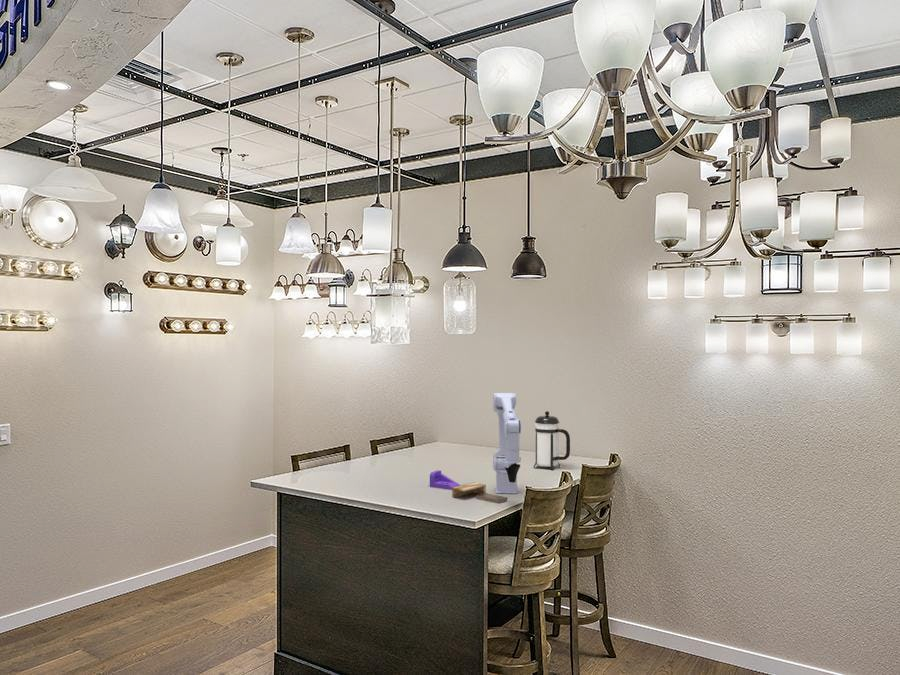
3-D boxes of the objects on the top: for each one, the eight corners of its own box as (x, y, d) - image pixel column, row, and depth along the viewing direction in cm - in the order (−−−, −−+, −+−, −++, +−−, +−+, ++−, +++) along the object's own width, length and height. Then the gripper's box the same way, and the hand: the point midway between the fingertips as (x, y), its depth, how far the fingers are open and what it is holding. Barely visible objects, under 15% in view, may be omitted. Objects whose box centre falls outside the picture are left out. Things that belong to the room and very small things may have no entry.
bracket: (429, 487, 303) (429, 472, 303) (437, 484, 309) (437, 470, 309) (452, 490, 297) (452, 475, 297) (459, 487, 303) (459, 472, 303)
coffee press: (538, 471, 340) (539, 413, 340) (529, 465, 356) (529, 409, 356) (570, 470, 344) (570, 412, 344) (559, 464, 359) (559, 409, 360)
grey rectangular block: (507, 502, 278) (507, 497, 278) (498, 504, 273) (498, 499, 273) (484, 497, 286) (485, 492, 286) (476, 499, 281) (476, 495, 281)
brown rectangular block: (485, 494, 289) (485, 484, 289) (464, 499, 279) (464, 489, 279) (473, 491, 294) (473, 482, 294) (452, 497, 284) (452, 487, 284)
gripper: (509, 445, 280) (509, 477, 280) (496, 451, 267) (496, 484, 267) (525, 447, 277) (525, 479, 277) (513, 452, 264) (512, 486, 264)
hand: (512, 482), depth 272 cm, fingers closed
